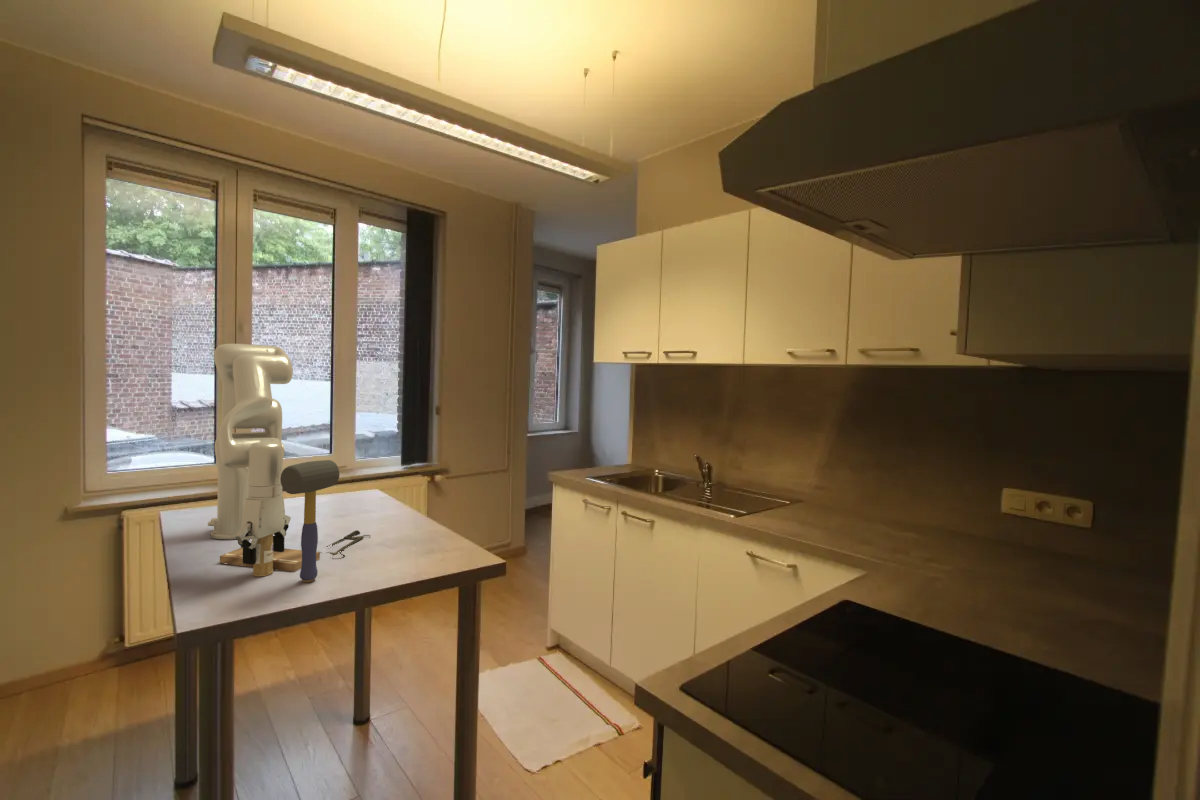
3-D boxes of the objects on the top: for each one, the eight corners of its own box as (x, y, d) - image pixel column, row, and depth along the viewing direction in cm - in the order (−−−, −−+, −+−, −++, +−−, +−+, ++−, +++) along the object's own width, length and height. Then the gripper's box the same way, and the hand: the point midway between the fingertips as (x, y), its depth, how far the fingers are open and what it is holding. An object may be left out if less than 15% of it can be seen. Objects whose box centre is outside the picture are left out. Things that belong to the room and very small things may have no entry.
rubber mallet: (317, 570, 146) (320, 456, 144) (339, 575, 143) (342, 459, 142) (275, 586, 134) (277, 463, 133) (298, 592, 131) (300, 466, 130)
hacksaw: (355, 533, 180) (355, 529, 180) (385, 536, 178) (385, 531, 178) (306, 557, 156) (306, 552, 156) (339, 561, 154) (340, 555, 154)
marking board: (219, 563, 147) (219, 555, 147) (248, 551, 157) (249, 544, 157) (294, 571, 144) (294, 563, 144) (319, 559, 154) (319, 551, 154)
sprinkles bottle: (273, 575, 141) (275, 523, 140) (252, 578, 138) (253, 525, 138) (272, 569, 145) (273, 518, 144) (251, 572, 142) (252, 520, 142)
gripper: (276, 483, 150) (275, 545, 150) (224, 496, 133) (223, 567, 133) (302, 485, 149) (300, 548, 149) (252, 499, 131) (251, 570, 132)
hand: (264, 557), depth 141 cm, fingers open, 9 cm apart
